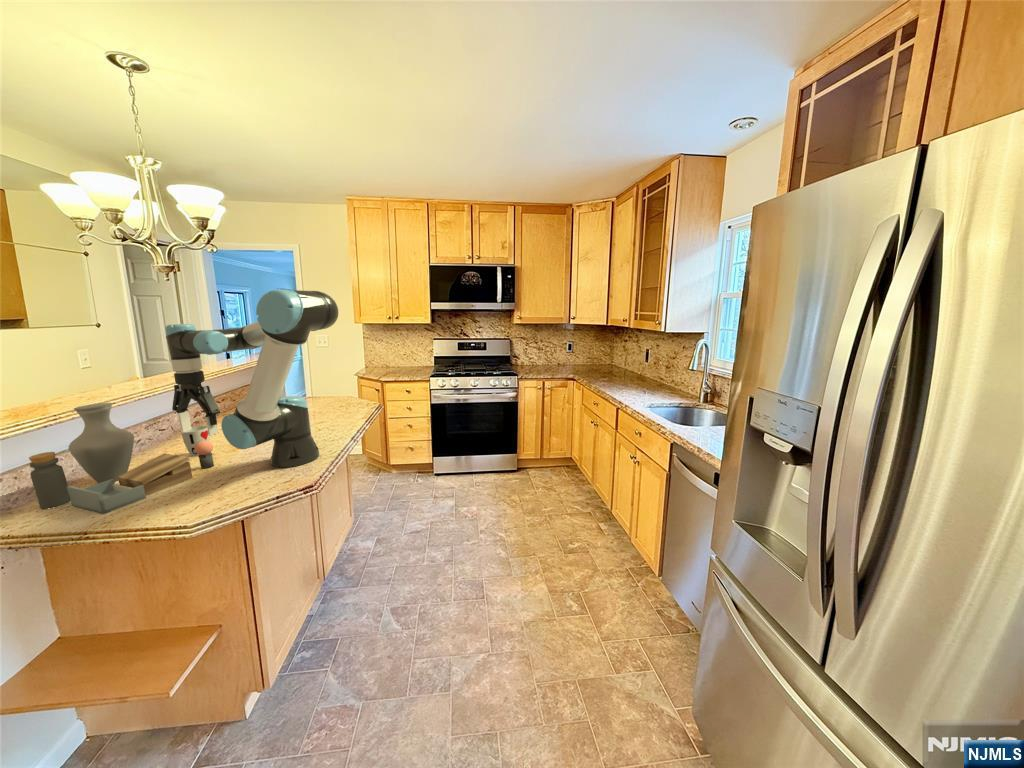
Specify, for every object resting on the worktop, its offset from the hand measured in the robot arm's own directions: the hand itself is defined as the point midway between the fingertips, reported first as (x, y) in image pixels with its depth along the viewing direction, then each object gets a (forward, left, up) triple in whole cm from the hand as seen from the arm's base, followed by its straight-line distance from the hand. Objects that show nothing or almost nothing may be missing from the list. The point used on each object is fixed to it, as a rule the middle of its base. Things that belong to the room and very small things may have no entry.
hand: (200, 432), depth 130 cm
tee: (0, 0, -13) cm, 13 cm away
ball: (0, 0, -8) cm, 8 cm away
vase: (+21, +16, -13) cm, 29 cm away
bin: (+1, +26, -13) cm, 29 cm away
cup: (+17, -8, -13) cm, 22 cm away
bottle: (+15, +31, -13) cm, 37 cm away
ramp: (+1, +14, -13) cm, 19 cm away
